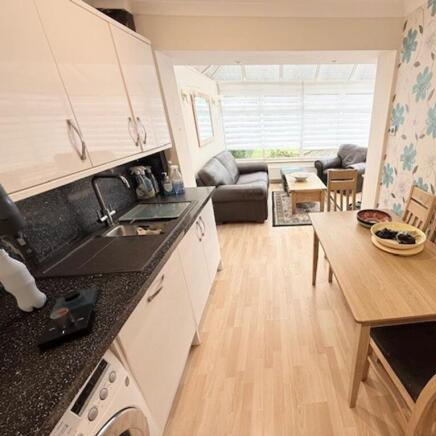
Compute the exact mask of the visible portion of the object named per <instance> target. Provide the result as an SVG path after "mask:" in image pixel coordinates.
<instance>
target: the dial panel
mask: <svg viewBox="0 0 436 436" xmlns="http://www.w3.org/2000/svg"><path fill="white" fill-rule="evenodd" d="M95 315H96V312H95V310H94V307H90V308H87V309H84V310H81V311H78V312H75V313H72V316H73V317H74V319H75V322H74V323H73V324H72V325H71V326H70V327H68V328H66V329H63V330H59V329H57V327H56V326H55V324H54V323H53V321H52V320H48V321H47V323H46V325H45V327H44V329H43V331H42V333H41V334H40V335H41V336H40V338H39V339H38V342H37V343H36V346H37V347H38V349H39V350H40V351H41V352H44V351H47V350H49V349H53V348H55V347H59V346H60V345H63V344H66V343H68V342H71V341H75V340H76V339H79V338H82V337H84V336H87V335H90V334H91V331H92V327H93V323H94V321H95Z"/></svg>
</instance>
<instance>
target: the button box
mask: <svg viewBox="0 0 436 436" xmlns="http://www.w3.org/2000/svg"><path fill="white" fill-rule="evenodd" d="M76 290H77V289H76ZM77 291H78V293H79V296H78V297H77V298H76V299H74V300H71V301H66V300H65V299H64V296H62V297H58V298H57V300H56V302H55V304H54V305H53V307H52V310H51V313H50V314H49V318H50V316H51V314H52V313H54V312H55V311H57V310H59V309H62V308H68V310H69V311H70V313H71V314H72V313H75V312H78V311H81V310H84V309H87V308H90V307H92V308H95V305H96V301H97V298H98V294H99V289H98V287H97V286H94V287H91V288H88V289H84V290H83V289H80V290H77Z"/></svg>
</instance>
